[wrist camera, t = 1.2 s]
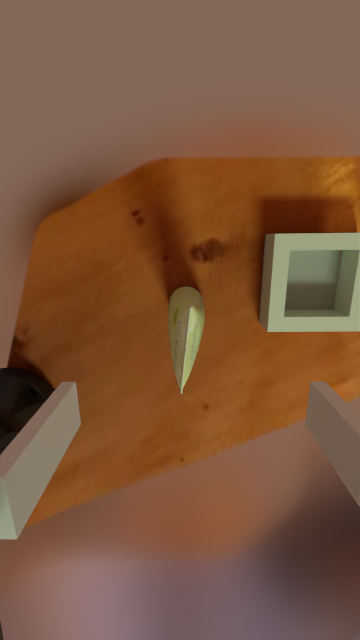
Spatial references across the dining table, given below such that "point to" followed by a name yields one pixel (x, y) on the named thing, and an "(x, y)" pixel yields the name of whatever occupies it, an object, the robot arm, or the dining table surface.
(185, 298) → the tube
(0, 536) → the robot arm
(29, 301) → the dining table surface
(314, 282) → the socket block
